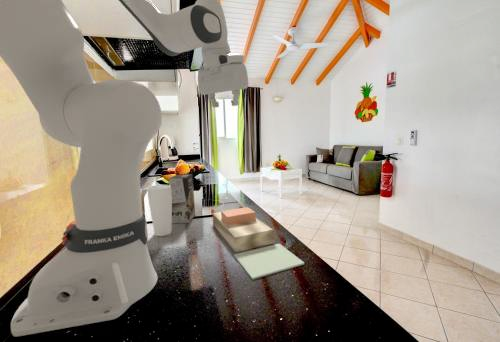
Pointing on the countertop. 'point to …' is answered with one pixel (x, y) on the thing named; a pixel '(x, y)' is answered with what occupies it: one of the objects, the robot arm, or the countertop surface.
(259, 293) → the countertop surface
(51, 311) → the robot arm
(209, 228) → the countertop surface
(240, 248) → the beige block
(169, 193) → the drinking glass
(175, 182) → the coffee box
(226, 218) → the peach brick
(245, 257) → the mat
